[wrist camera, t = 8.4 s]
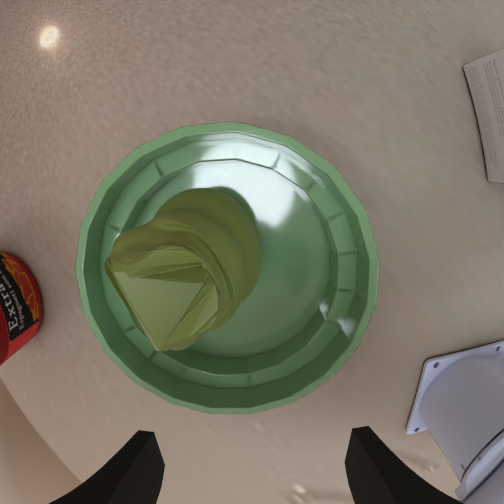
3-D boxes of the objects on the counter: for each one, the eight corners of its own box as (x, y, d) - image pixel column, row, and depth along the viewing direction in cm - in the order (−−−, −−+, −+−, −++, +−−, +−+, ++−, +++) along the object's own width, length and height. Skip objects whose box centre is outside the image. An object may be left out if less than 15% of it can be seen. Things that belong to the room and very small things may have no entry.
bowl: (349, 135, 17) (377, 122, 13) (344, 364, 20) (362, 404, 16) (102, 152, 17) (63, 146, 13) (132, 369, 21) (110, 406, 16)
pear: (275, 261, 18) (297, 349, 8) (193, 298, 19) (142, 404, 9) (231, 171, 17) (201, 159, 7) (149, 215, 18) (47, 253, 8)
